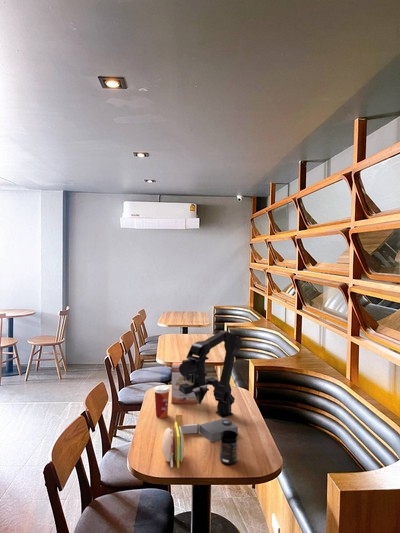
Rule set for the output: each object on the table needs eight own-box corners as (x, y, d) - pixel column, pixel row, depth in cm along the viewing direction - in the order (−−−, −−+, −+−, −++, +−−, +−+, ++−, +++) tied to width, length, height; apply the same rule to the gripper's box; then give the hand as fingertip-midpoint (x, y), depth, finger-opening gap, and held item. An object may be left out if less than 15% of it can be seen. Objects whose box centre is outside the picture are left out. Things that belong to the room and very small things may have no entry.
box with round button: (224, 425, 172) (224, 416, 172) (237, 434, 163) (237, 425, 163) (199, 432, 164) (199, 423, 164) (211, 442, 156) (211, 432, 156)
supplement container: (239, 458, 144) (239, 432, 144) (234, 467, 138) (235, 440, 137) (222, 454, 146) (222, 429, 146) (217, 464, 140) (217, 437, 140)
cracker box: (171, 403, 195) (171, 365, 195) (172, 399, 201) (172, 361, 201) (197, 404, 195) (198, 365, 194) (197, 399, 201) (198, 362, 201)
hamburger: (161, 451, 148) (161, 422, 148) (181, 450, 149) (182, 421, 149) (163, 469, 136) (163, 437, 136) (185, 467, 138) (185, 435, 137)
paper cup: (167, 419, 177) (167, 391, 176) (151, 418, 178) (151, 389, 178) (171, 412, 184) (171, 385, 184) (156, 411, 186) (157, 384, 185)
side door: (199, 433, 164) (199, 413, 163) (175, 434, 162) (175, 414, 162) (198, 432, 165) (199, 412, 164) (175, 433, 163) (175, 413, 163)
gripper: (206, 362, 181) (207, 393, 182) (173, 369, 171) (173, 402, 172) (219, 368, 172) (219, 401, 173) (184, 376, 162) (185, 410, 163)
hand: (199, 403), depth 170 cm, fingers closed
